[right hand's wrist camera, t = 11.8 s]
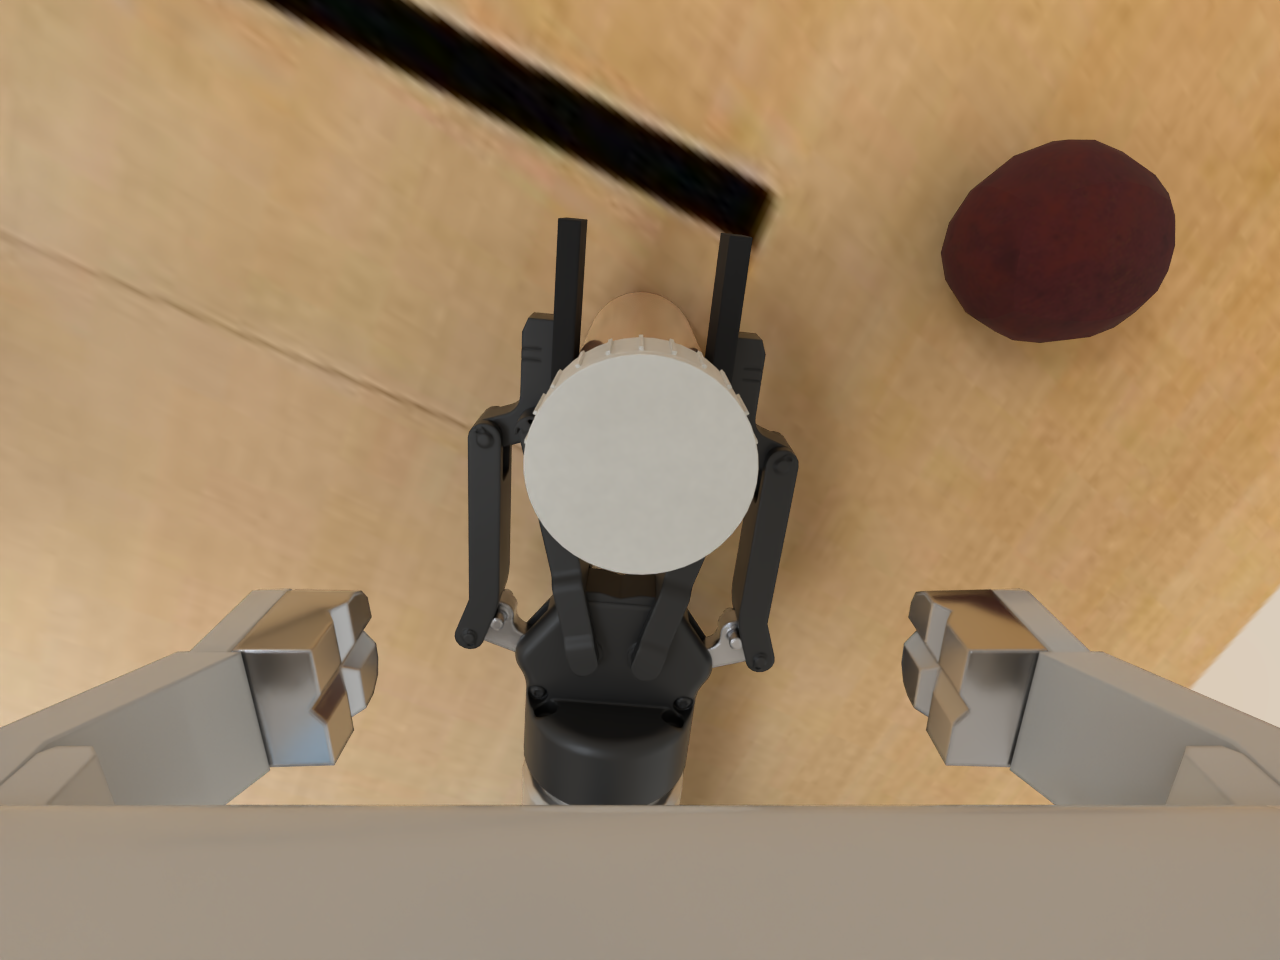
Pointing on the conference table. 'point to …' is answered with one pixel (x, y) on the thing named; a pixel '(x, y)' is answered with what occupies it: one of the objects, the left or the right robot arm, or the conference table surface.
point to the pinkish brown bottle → (640, 321)
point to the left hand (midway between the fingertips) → (654, 228)
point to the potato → (1060, 242)
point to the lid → (640, 457)
